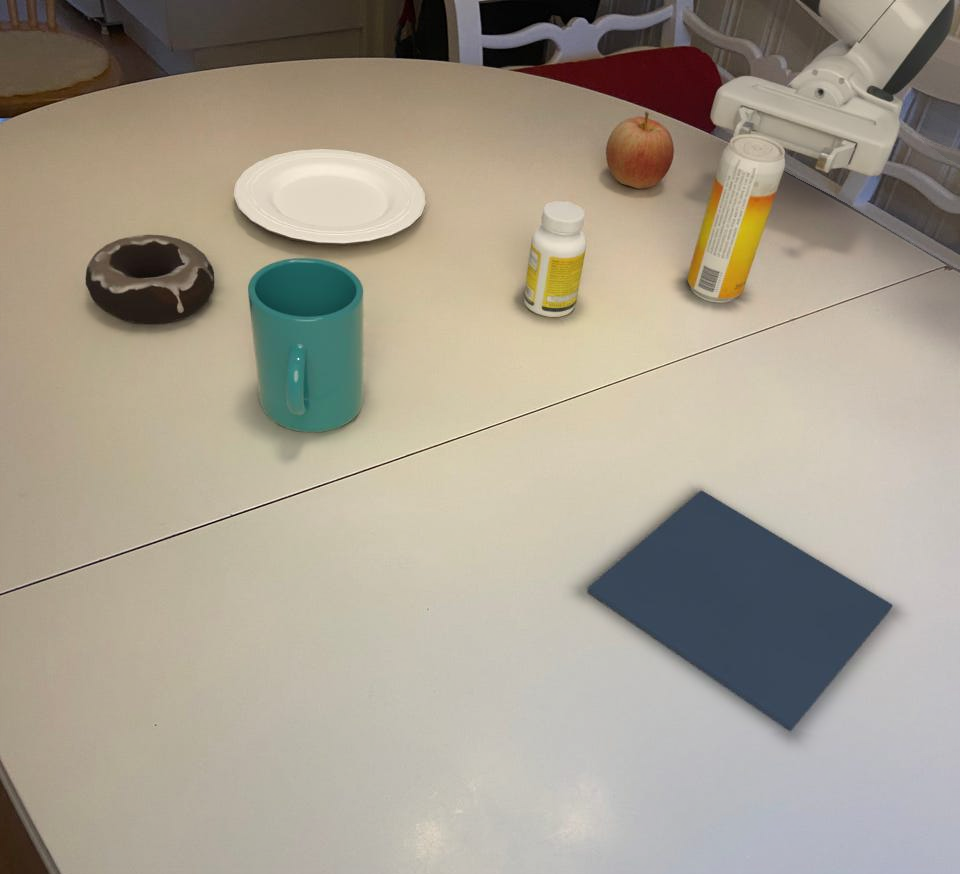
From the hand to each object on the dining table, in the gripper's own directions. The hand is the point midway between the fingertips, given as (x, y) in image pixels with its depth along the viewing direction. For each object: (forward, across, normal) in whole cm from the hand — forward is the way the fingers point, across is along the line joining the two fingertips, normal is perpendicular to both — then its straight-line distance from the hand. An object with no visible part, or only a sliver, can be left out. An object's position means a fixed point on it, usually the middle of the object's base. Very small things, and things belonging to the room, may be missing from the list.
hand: (781, 149), depth 102 cm
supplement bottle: (+26, -13, +11) cm, 31 cm away
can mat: (+54, +19, +10) cm, 58 cm away
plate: (+24, -41, +11) cm, 49 cm away
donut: (+49, -44, +11) cm, 67 cm away
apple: (-4, -17, +11) cm, 21 cm away
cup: (+55, -21, +11) cm, 60 cm away
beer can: (+12, 0, +11) cm, 16 cm away
